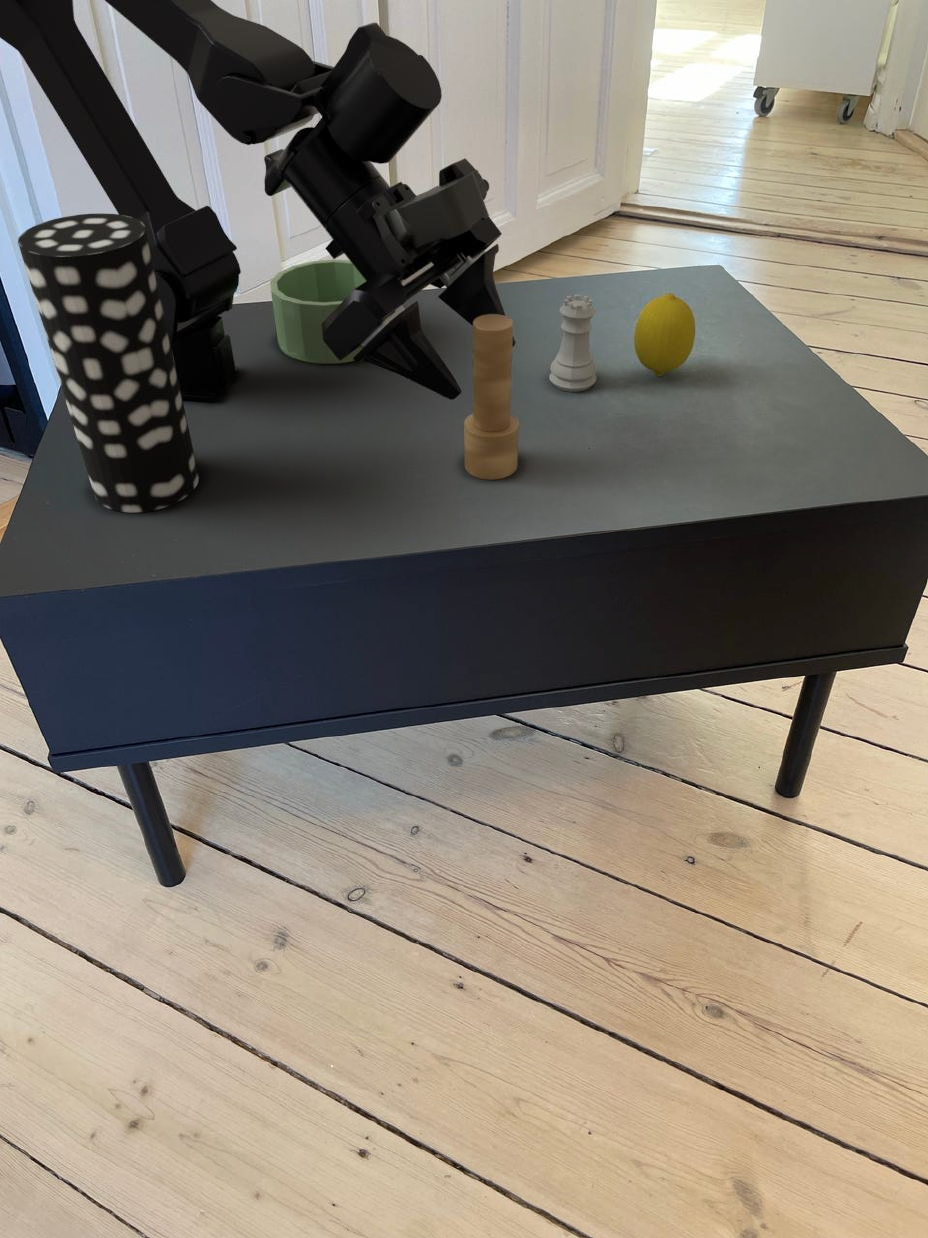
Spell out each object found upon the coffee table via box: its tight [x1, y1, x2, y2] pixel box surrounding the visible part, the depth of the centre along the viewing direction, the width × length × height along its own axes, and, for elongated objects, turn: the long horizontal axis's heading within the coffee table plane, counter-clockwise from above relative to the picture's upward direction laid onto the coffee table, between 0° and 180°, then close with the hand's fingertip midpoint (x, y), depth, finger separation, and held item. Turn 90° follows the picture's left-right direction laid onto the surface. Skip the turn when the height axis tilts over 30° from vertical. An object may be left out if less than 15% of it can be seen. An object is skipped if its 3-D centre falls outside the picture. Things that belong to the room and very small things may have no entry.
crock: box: [269, 259, 366, 365], centre depth 97 cm, size 11×11×6 cm
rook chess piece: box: [548, 294, 597, 393], centre depth 89 cm, size 4×4×8 cm
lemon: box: [633, 292, 696, 377], centre depth 90 cm, size 6×6×8 cm
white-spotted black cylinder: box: [17, 212, 200, 513], centre depth 72 cm, size 8×8×20 cm
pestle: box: [463, 314, 520, 481], centre depth 77 cm, size 4×4×12 cm
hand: (485, 371), depth 76 cm, fingers open, 9 cm apart
